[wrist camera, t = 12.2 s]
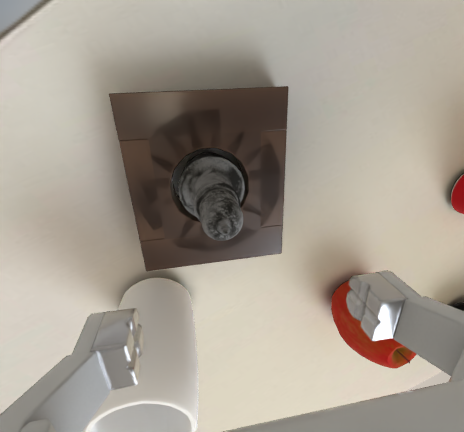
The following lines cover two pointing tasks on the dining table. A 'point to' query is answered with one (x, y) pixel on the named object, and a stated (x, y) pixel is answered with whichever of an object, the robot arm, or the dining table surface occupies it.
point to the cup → (157, 365)
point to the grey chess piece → (213, 194)
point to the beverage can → (458, 195)
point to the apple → (358, 340)
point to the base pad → (189, 140)
